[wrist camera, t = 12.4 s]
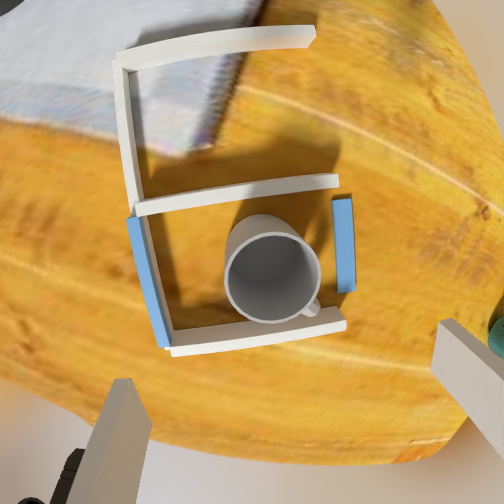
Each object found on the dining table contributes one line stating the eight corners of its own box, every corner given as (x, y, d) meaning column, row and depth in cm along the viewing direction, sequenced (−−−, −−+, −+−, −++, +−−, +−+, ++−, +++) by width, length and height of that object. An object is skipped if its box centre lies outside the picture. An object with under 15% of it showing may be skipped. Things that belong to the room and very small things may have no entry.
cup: (261, 197, 30) (274, 210, 22) (328, 264, 33) (360, 298, 24) (209, 250, 32) (203, 282, 23) (279, 311, 34) (295, 358, 25)
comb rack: (117, 65, 26) (105, 55, 22) (326, 38, 26) (336, 25, 23) (167, 340, 34) (161, 357, 30) (354, 311, 35) (365, 325, 31)
